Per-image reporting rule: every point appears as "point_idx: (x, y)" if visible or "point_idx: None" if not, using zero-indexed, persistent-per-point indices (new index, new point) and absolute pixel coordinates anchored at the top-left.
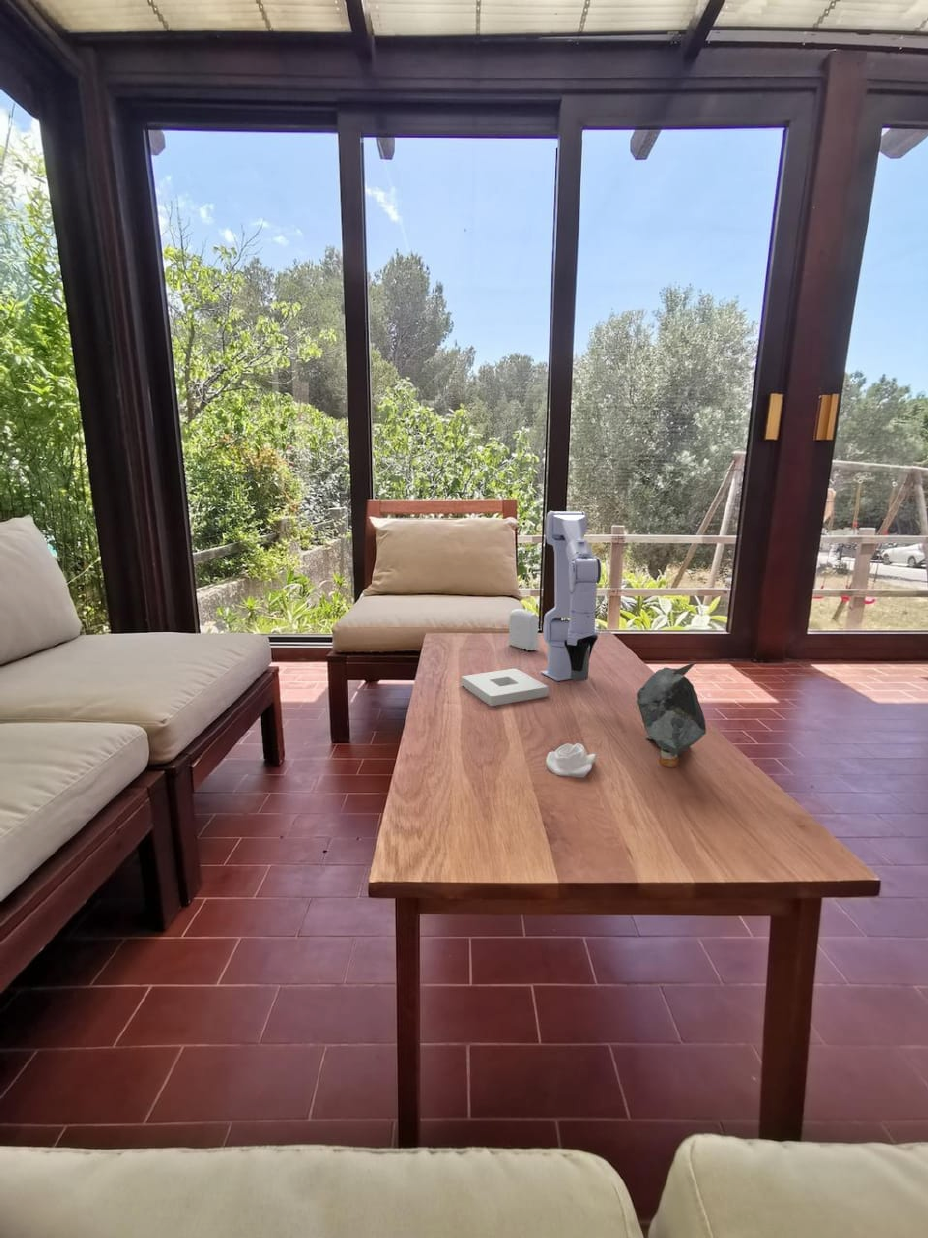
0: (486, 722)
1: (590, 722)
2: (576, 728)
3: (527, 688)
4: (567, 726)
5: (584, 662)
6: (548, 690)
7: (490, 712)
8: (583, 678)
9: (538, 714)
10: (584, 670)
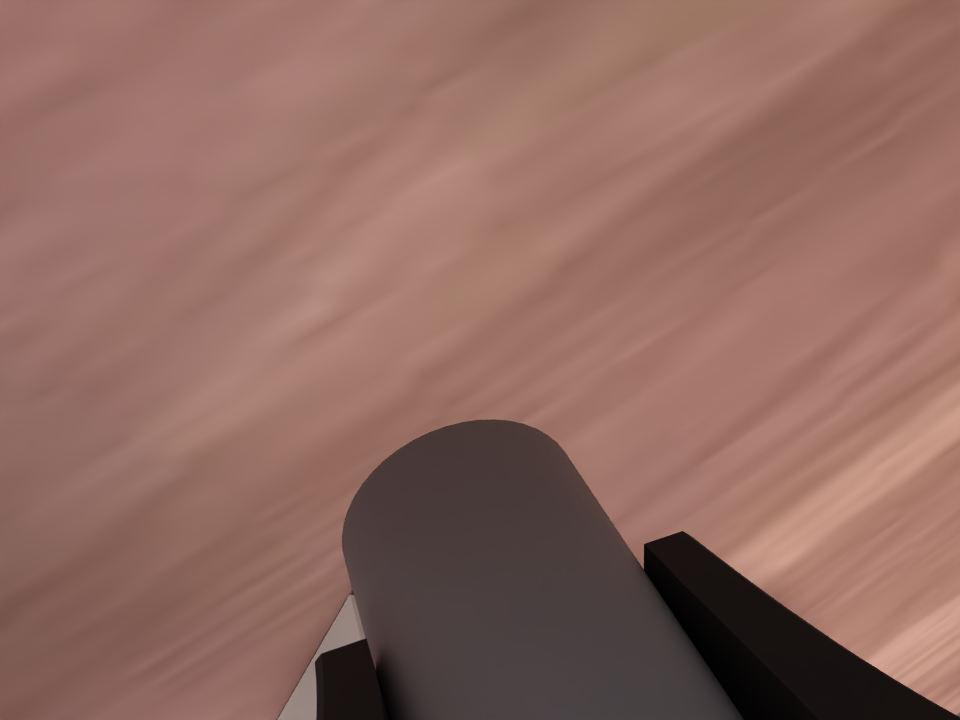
0: (946, 519)
1: (712, 4)
2: (882, 47)
3: None
4: (866, 132)
5: (680, 645)
6: (361, 636)
7: (812, 597)
8: (551, 448)
9: (730, 417)
10: (599, 530)
